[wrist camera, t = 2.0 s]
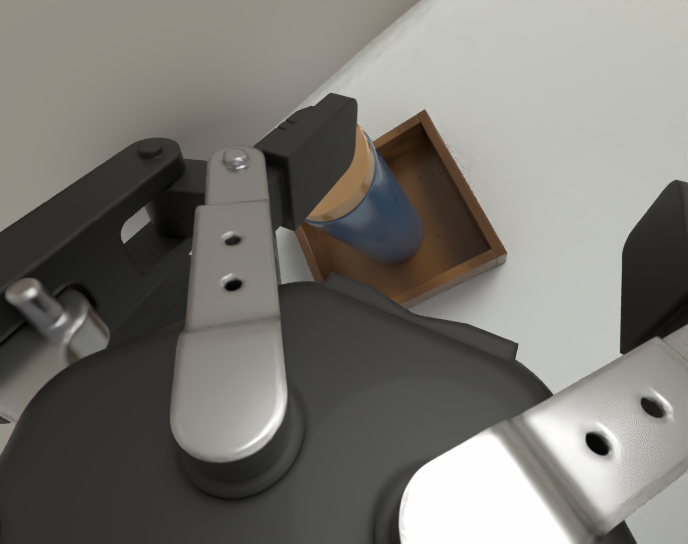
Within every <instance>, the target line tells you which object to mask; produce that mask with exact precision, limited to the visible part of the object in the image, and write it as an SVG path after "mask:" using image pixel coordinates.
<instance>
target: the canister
mask: <svg viewBox="0 0 688 544" xmlns="http://www.w3.org/2000/svg"><path fill="white" fill-rule="evenodd" d="M304 222H306V223H307V224H309V225H311V226H313V227H315V228H317V229H318V230H320V231H322V232H324V233H326V234H327V235H329V236H331V237H333V238H335V239H336V240H338V241H340V242H342V243H344V244H345V245H347V246H349V247H351V248H353V249H354V250H356V251H358V252H360V253H362V254H363V255H365V256H367V257H369V258H371V259H372V260H374V261H376V262H378V263H381V264H387V265H393V264H398V263H402V262H404V261H406V260H408V259H409V258H411V257H412V256H413V255H414V254H415V253H416V252H417V250H418V249H419V247H420V246H421V244H422V241H423V238H424V222H423V219H422V217H421V215H420V213H419V211H418V210H417V208H416V207H415V205H414V204H413V202H412V201H411V199H410V198H409V196H408V195H407V193H406V192H405V190H404V189H403V187H402V186H401V184H400V183H399V181H398V180H397V178H396V177H395V175H394V174H393V172H392V171H391V169H390V168H389V166H388V165H387V163H386V162H385V160H384V159H383V157H382V156H381V154H380V153H379V151H378V149H377V148H376V146H375V145H374V143H373V142H372V140H371V139H370V137H369V136H368V135H367V134H366V133H365V132H364V131H363V130H362V129H361V128H360V126H359V125H358V124H357V129H356V147H355V154H354V158H353V161H352V164H351V166H350V167H349V169H348V170H347V171H346V172H345V174H344V175H343V176H342V177H341V178H340V179H339V181H338V182H337V183H336V184H335V185H334V186H333V188H332V189H331V190H330V191H329V192H328V193H327V195H326V196H325V197H324V198H323V199H322V200H321V202H320V203H319V204H318V205H317V206H316V207H315V209H314V210H313V211H312V212H311V213H310V214H309V216H308V217H307V218H306V219H305V220H304Z"/></svg>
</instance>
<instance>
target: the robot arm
mask: <svg viewBox="0 0 688 544" xmlns="http://www.w3.org/2000/svg"><path fill="white" fill-rule="evenodd" d="M357 109H358V107H357V101H356V99H354V98H350V97H346V96H342V95H338V94H334V93H330V94H328V95H327V96H326V97H324V98H323V99H322V100H321V101H320V102H319V103H317V104H316V105H315V106H309V107H307V108H304V109H301V110H299V111H296V112H295V113H294V114H292V115H291V116H290V117H289V118H287V119H286V122H283V123H281V124H280V125H279V126H278V128H275V129H274V130H273V131H271V132H270V133H269V134H268V135H267V136H265V137H264V138H263V139H262V140H260V141H259V142H258V143H257V144H255V145H254V146H253V147H250V146H244V145H236V146H229V147H225V148H222V149H220V150H218V151H216V152H214V153H213V154H212V155H211V156H210V157H209V159H208V161H203V160H191V159H183V156H182V153H181V150H180V147H179V145H178V143H176V142H175V141H173V140H171V139H167V138H149V139H144V140H141V141H138V142H135V143H133V144H131V145H130V146H128V147H127V148H125V149H124V150H122V151H121V152H119V153H118V154H116V155H115V156H113V157H112V158H110V159H109V160H107V161H106V162H104V163H103V164H101V165H100V166H98V167H97V168H95V169H94V170H92V171H91V172H89V173H88V174H86V175H85V176H83V177H82V178H80V179H79V180H77V181H76V182H74V183H73V184H71V185H70V186H68V187H67V188H65V189H64V190H63V191H61V192H60V193H58V194H57V195H55V196H54V197H52V198H51V199H49V200H48V201H46V202H45V203H43V204H42V205H40V206H39V207H37V208H36V209H34V210H33V211H31V212H30V213H28V214H27V215H25V216H24V217H22V218H21V219H19V220H18V221H16V222H15V223H13V224H12V225H10V226H9V227H7V228H6V229H4V230H3V231H2V232H0V424H6V423H14V424H16V426H15V428H14V430H13V432H12V434H11V436H10V438H9V440H8V443H7V445H6V446H5V448H4V450H3V452H2V453H1V455H0V544H637V543H636V541H635V539H634V537H633V535H632V533H631V532H630V530H629V528H628V526H627V524H626V522H625V521H624V519H626V518H627V517H628V516H630V515H631V514H632V513H633V512H635V511H636V510H637V509H639V508H640V507H641V506H643V505H644V504H645V503H646V502H648V501H649V500H650V499H652V498H653V497H654V496H656V495H657V494H658V493H659V492H661V491H662V490H663V489H665V488H666V487H667V486H669V485H670V484H671V483H672V482H674V481H675V480H676V479H678V478H679V477H680V476H682V475H683V474H684V473H685V472H687V471H688V183H687V182H683V181H679V180H674V181H672V182H671V183H670V184H669V185H668V186H667V187H666V188H665V189H664V190H663V191H662V193H661V194H660V195H659V197H658V198H657V199H656V200H655V202H654V203H653V204H652V206H651V207H650V208H649V209H648V211H647V212H646V213H645V214H644V216H643V217H642V218H641V220H640V221H639V222H638V223H637V225H636V226H635V227H634V229H633V230H632V231H631V233H630V234H629V236H628V238H627V240H626V242H625V245H624V248H623V252H622V287H621V330H620V353H621V354H623V356H621V357H619V358H618V359H616V360H614V361H612V362H611V363H609V364H607V365H605V366H604V367H602V368H600V369H599V370H597V371H595V372H593V373H592V374H590V375H588V376H586V377H585V378H583V379H581V380H579V381H578V382H576V383H574V384H572V385H571V386H569V387H567V388H565V389H564V390H562V391H560V392H558V393H557V394H555V395H553V393H552V392H551V391H550V390H549V389H548V387H547V386H546V385H545V384H544V383H543V382H542V381H541V380H540V379H539V378H538V377H537V376H536V375H535V374H534V373H533V372H531V371H530V370H529V369H528V368H526V367H525V366H524V365H523V364H521V363H520V362H518V361H517V360H515V358H516V353H517V349H518V343H515V342H513V341H510V340H508V339H505V338H502V337H500V336H497V335H495V334H492V333H490V332H487V331H485V330H482V329H479V328H477V327H474V326H472V325H469V324H465V323H460V322H454V321H448V320H443V319H437V318H431V317H425V316H420V315H416V314H413V313H411V312H410V311H408V310H407V309H405V308H404V307H402V306H401V305H399V304H398V303H396V302H395V301H393V300H392V299H390V298H389V297H387V296H386V295H384V294H383V293H381V292H380V291H378V290H377V289H375V288H374V287H372V286H369V285H367V284H364V283H362V282H359V281H357V280H354V279H352V278H349V277H346V276H344V275H341V274H339V273H336V272H334V271H331V273H330V274H329V275H328V277H327V278H326V280H325V281H324V283H322V282H310V281H305V282H293V283H286V284H282V285H281V276H280V267H279V259H278V250H277V241H276V234H275V231H276V230H277V229H278V228H279V227H280V226H282V227H284V228H287V229H290V230H292V231H296V230H297V228H298V227H299V226H300V225H301V224H302V223H303V221H304V220H305V219H306V218H307V217H308V216H309V214H310V213H311V212H312V211H313V210H314V209H315V207H316V206H317V205H318V204H319V203H320V202H321V200H322V199H323V198H324V197H325V196H326V195H327V193H328V192H329V191H330V190H331V189H332V188H333V186H334V185H335V184H336V183H337V182H338V181H339V179H340V178H341V177H342V176H343V175H344V174H345V172H346V171H347V170H348V169H349V167H350V166H351V164H352V161H353V158H354V154H355V147H356V129H357ZM144 206H145V209H146V210H147V213H148V215H149V217H150V220H151V221H150V222H149V223H148V224H147V225H145V226H144V227H143V228H142V229H141V230H140V231H138V233H136V234H135V235H134V236H133V237H132V238H131V239H129V240H128V241H127V242H126V243H125V244H123V242H122V240H121V229H122V227H123V225H124V223H125V222H126V221H127V220H128V219H129V218H130V217H132V216H133V215H134V214H135V213H136V212H138V211H139V210H140V209H141V208H142V207H144ZM191 251H192V255H191V267H190V278H189V290H188V301H187V313H186V319H185V320H182V321H179V322H177V323H174V324H171V325H168V326H166V327H163V328H160V329H158V330H155V331H152V332H149V333H147V334H144V335H141V336H138V337H136V338H133V339H130V340H128V341H125V342H122V343H119V344H117V345H114V346H111V347H109V348H106V347H107V345H108V342H109V339H110V335H111V334H112V333H113V332H114V330H115V329H116V328H117V327H118V326H119V325H120V324H121V323H122V322H123V321H124V320H125V319H126V318H127V317H128V316H129V315H130V314H131V313H132V312H133V311H134V310H135V309H136V308H137V307H138V306H139V305H140V303H141V302H142V301H143V300H144V299H145V298H146V297H147V296H148V295H149V294H150V293H151V292H152V291H153V290H154V289H155V288H156V287H157V286H158V285H159V284H160V283H161V282H162V281H163V280H164V279H165V278H166V276H167V275H168V274H169V273H170V272H171V271H172V270H173V269H174V268H175V267H176V266H177V265H178V264H179V263H180V262H181V261H182V260H183V259H184V258H185V257H186V256H187V255H188V254H189V253H190V252H191Z"/></svg>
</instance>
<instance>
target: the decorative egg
mask: <svg viewBox="0 0 688 544" xmlns="http://www.w3.org/2000/svg"><path fill="white" fill-rule="evenodd" d="M190 267H191V255H189V254H188V255H187V256H186V257H185V258H184V259H183V260H182V261H181V262H180V263H179V264H178V265H177V266H176V267H175V268H174V269H173V270H172V271H171V272H170V273H169V274H168V275H167V276H166V278H165V279H164V280H163V281H162V282H161V283H160V284H159V285H158V286H157V287H156V288H155V289H154V290H153V291H152V292H151V293H150V294H149V295H148V296H147V297H146V298H145V299H144V300H143V301H142V302H141V303H140V305H139V306H138V307H137V308H136V309H135V310H134V311H133V312H132V313H131V314H130V315H129V316H128V317H127V318H126V319H125V320H124V321H123V322H122V323H121V324H120V325H119V326H118V327H117V328H116V329H115V330H114V332H113V333H112V334H111V335H110V339H109V342H108V345H107V347H106V348H109V347H111V346H114V345H117V344H119V343H122V342H125V341H128V340H130V339H133V338H136V337H138V336H141V335H144V334H147V333H149V332H152V331H155V330H158V329H160V328H163V327H166V326H168V325H171V324H174V323H177V322H179V321H182V320H185V319H186V313H187V301H188V290H189V278H190Z"/></svg>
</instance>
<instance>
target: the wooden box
mask: <svg viewBox="0 0 688 544" xmlns="http://www.w3.org/2000/svg"><path fill="white" fill-rule="evenodd" d="M373 143H374V145H375V146H376V148H377V149H378V151H379V153H380V154H381V156H382V157H383V159H384V160H385V162H386V163H387V165H388V166H389V168H390V169H391V171H392V172H393V174H394V175H395V177H396V178H397V180H398V181H399V183H400V184H401V186H402V187H403V189H404V190H405V192H406V193H407V195H408V196H409V198H410V199H411V201H412V202H413V204H414V205H415V207H416V208H417V210H418V211H419V213H420V215H421V217H422V219H423V222H424V238H423V241H422V244H421V246H420V247H419V249H418V250H417V252H416V253H415V254H414V255H413V256H412V257H411V258H409V259H408V260H406V261H404V262H402V263H398V264H393V265H387V264H381V263H378V262H376V261H374V260H372V259H371V258H369V257H367V256H365V255H363V254H362V253H360V252H358V251H356V250H354V249H353V248H351V247H349V246H347V245H345V244H344V243H342V242H340V241H338V240H336V239H335V238H333V237H331V236H329V235H327V234H326V233H324V232H322V231H320V230H318V229H317V228H315V227H313V226H311V225H309V224H307V223H306V222H304V221H303V223H302V224H301V225H300V226H299V227H298V228H297V230H296V231H295V233H296V236H297V238H298V241H299V243H300V245H301V248H302V250H303V253H304V255H305V258H306V260H307V263H308V265H309V268H310V270H311V272H312V275H313V277H314V280H315V282H322V283H324V281H325V280H326V278H327V277H328V275H329V274H330V273H331V271H334V272H336V273H339V274H341V275H344V276H346V277H349V278H352V279H354V280H357V281H359V282H362V283H364V284H367V285H369V286H372V287H374V288H375V289H377V290H378V291H380V292H381V293H383V294H384V295H386V296H387V297H389V298H390V299H392V300H393V301H395V302H396V303H398V304H399V305H401V306H402V307H404V308H405V309H408V308H410V307H412V306H414V305H416V304H418V303H420V302H423V301H425V300H427V299H429V298H431V297H433V296H435V295H437V294H439V293H441V292H444V291H446V290H448V289H450V288H452V287H454V286H456V285H458V284H460V283H462V282H465V281H467V280H469V279H471V278H473V277H475V276H477V275H479V274H481V273H483V272H485V271H488V270H490V269H492V268H494V267H496V266H498V265H500V264H502V263H504V262H506V256H507V252H506V250H505V248H504V246H503V245H502V243H501V241H500V239H499V238H498V236H497V234H496V232H495V231H494V229H493V227H492V225H491V224H490V222H489V220H488V218H487V217H486V215H485V213H484V211H483V210H482V208H481V206H480V204H479V203H478V201H477V199H476V197H475V196H474V194H473V192H472V190H471V189H470V187H469V185H468V183H467V182H466V180H465V178H464V176H463V175H462V173H461V171H460V169H459V168H458V166H457V164H456V162H455V161H454V159H453V157H452V156H451V154H450V152H449V150H448V149H447V147H446V145H445V143H444V142H443V140H442V138H441V136H440V135H439V133H438V131H437V129H436V128H435V126H434V124H433V122H432V121H431V119H430V117H429V115H428V114H427V112H426V110H423V111H421V112H420V113H418V114H417V116H416V115H415V116H414V117H412V118H410V119H409V120H407V121H406V122H404V123H402V124H401V125H399V126H397V127H396V128H394V129H393V130H391V131H389V132H388V133H386V134H385V135H383V136H381V137H380V138H378V139H377V140H375V141H373Z"/></svg>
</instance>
